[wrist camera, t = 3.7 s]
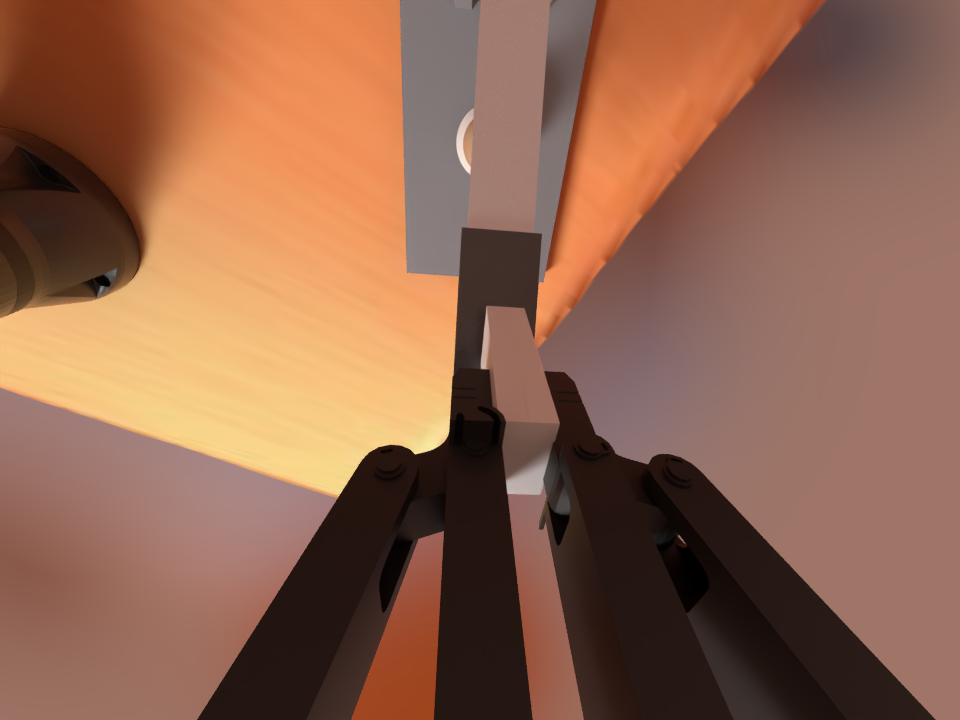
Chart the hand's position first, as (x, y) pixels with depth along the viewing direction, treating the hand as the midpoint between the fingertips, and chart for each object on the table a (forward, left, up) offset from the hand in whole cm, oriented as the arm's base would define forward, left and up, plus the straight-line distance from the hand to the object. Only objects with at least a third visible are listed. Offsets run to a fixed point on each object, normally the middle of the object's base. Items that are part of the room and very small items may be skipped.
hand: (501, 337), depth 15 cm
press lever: (0, +6, -8) cm, 10 cm away
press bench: (0, +7, -25) cm, 26 cm away
